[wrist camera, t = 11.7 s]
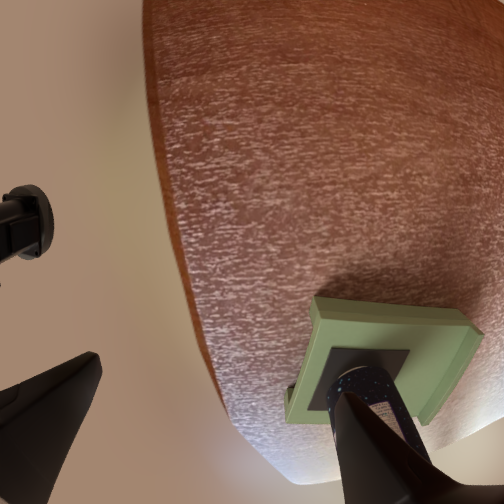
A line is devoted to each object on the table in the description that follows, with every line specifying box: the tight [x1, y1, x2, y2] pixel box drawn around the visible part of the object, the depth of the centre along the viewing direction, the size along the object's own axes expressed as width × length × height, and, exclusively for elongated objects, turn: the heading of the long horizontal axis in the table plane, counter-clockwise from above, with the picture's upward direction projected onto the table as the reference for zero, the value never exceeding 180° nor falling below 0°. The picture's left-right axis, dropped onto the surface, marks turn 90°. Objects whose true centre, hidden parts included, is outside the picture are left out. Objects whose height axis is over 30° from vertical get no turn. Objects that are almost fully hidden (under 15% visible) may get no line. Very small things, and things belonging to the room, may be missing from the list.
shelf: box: [284, 296, 484, 426], centre depth 21 cm, size 16×12×5 cm
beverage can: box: [326, 366, 432, 466], centre depth 14 cm, size 6×6×12 cm
